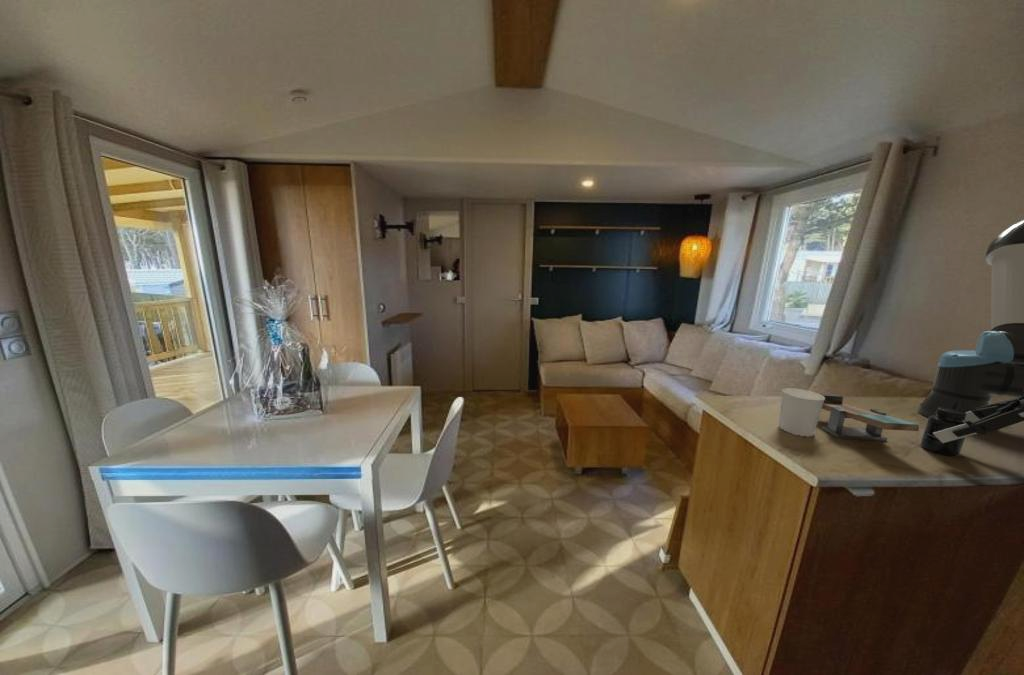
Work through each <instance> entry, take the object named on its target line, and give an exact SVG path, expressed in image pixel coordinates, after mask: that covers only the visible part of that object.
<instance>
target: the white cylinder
mask: <svg viewBox="0 0 1024 675" xmlns="http://www.w3.org/2000/svg"><path fill="white" fill-rule="evenodd" d="M820 394H821V393H817V392H814V391H811V390H807V389H801V388H790V387H789V388H782V390H781V402H780V410H779V411H780V412H779V420H778V423H779V424H778V427H779V429H781V430H782V429H783V430H784V431H783V430H782V431H783V432H785V431H787V432H786V433H788V432H789V433H788V434H790V433H792V434H791V435H793V434H795V435H794V436H797V435H800V436H799V437H803V436H806V437H807V438H808V437H809V438H811V437H814V435H815V432H816V429H817V425H818V422H819V420H820V415H821V413H822V412H821V411H822V410H823V409H822V406H823V403H824V400H825V397H824V396H822V395H820ZM806 437H805V438H806Z"/></svg>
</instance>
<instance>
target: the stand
mask: <svg viewBox="0 0 1024 675" xmlns="http://www.w3.org/2000/svg"><path fill="white" fill-rule="evenodd" d="M869 411H871V412H874V413H878V414H881V415H886V416H887V412H884V411H883V410H880V409H878V408H870V410H869ZM845 415H846V411H845V410H843V409H841V408H839V407H832V409H831V412H830V415H829V419H828V422H827V425H822V426H821V430H823V431H824V432H826V433H827V434H829V433H830V434H829V435H831V436H833V437H835V438H836V439H842V440H843V439H845V440H846V439H847V440H860V441H861V440H862V441H863V440H864V441H879V442H887V441H888V437H886V436H885V435H882V432H883V429H882V428H879V427H876V426H873V425H870V424H867V423H866V426H865V427H846V426H844V423H845V419H846V418H845Z"/></svg>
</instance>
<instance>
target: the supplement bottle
mask: <svg viewBox="0 0 1024 675" xmlns="http://www.w3.org/2000/svg"><path fill="white" fill-rule="evenodd" d="M936 414H937V415H934V416H931V417H927V421H926V424H925V427H924V430H923V433H922V437H921V439H920V440H921V441H920V446H921V447H922V448H923V449H925V451H926V450H927V451H929V452H931V453H935V454H938V455H941V456H946V457H951V456H956V457H958V456H960V454H961V452H962V449H963V446H964V443H965V441H966V437H964V438H960V439H956V440H953V441H949V442H945V443H942V442H941V441H940V440H939V439H938V438H937V437H936V436H935V435H934V434H933V433H934V432H937V431H941V430H944V429H948V428H951V427H955V426H958V425H962V424H965V423H964V422H963V421H964V420H965V417H966V413H965V412H963V411H960V410H957V409H952V408H947V407H938V408H937V411H936Z"/></svg>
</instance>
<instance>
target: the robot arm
mask: <svg viewBox="0 0 1024 675" xmlns="http://www.w3.org/2000/svg"><path fill="white" fill-rule="evenodd" d="M985 262H986V264H988V266H991V288H990V289H991V300H990V301H991V302H990V303H991V305H990V307H991V308H990V330H987V331H986V330H985V331H983V332H981V333H980V334H979V336H978V337H977V340H976V342H975V343H976V344H975V348H974V349H975V350H951V351H950V350H949V351H945V352H944V353H942V355H941V357H940V359H939V362H938V363H937V369H936V373H935V377H934V381H933V384H932V388H931V391H930V392H929V394H928V395H927V396H926V397H925V398H924V399H923V401H922V402H921V403H920V404H919V406H918V409H917V413H919V414H921V415H922V416H924V417H927V418H929V417H931V416H934V415H937V414H936V411H937V408H938V407H947V408H952V409H957V410H960V411H963V412H965V413H966V417H965V420H964V421H963V422H964V423H965V424H962V425H958V426H955V427H951V428H948V429H944V430H941V431H937V432H934V433H933V434H934V435H935V436H936V437H937V438H938V439H939V440H940V441H941V442H942V443H945V442H949V441H953V440H956V439H960V438H964V437H965V438H967V437H972V436H974V435H981V436H985V435H987V434H991V433H993V432H996V431H999V430H1001V429H1002V430H1003V429H1005V428H1008V427H1010V426H1013V425H1016V424H1018V423H1019V424H1020V423H1022V422H1024V219H1022V220H1020V221H1017V222H1016V223H1014V224H1012V225H1010V226H1009V227H1006V228H1005V229H1004V230H1003V231H1001V232H1000V233H999V234H998V235H996V236H995V237H994V238H993V239H992V240H991V242H990V243H989V245H988V247H987V248H986V253H985ZM992 395H994V396H995V395H996V396H1003V397H1009V398H1011V399H1007V400H1003V401H999V402H994V403H990V400H991V398H992Z"/></svg>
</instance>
